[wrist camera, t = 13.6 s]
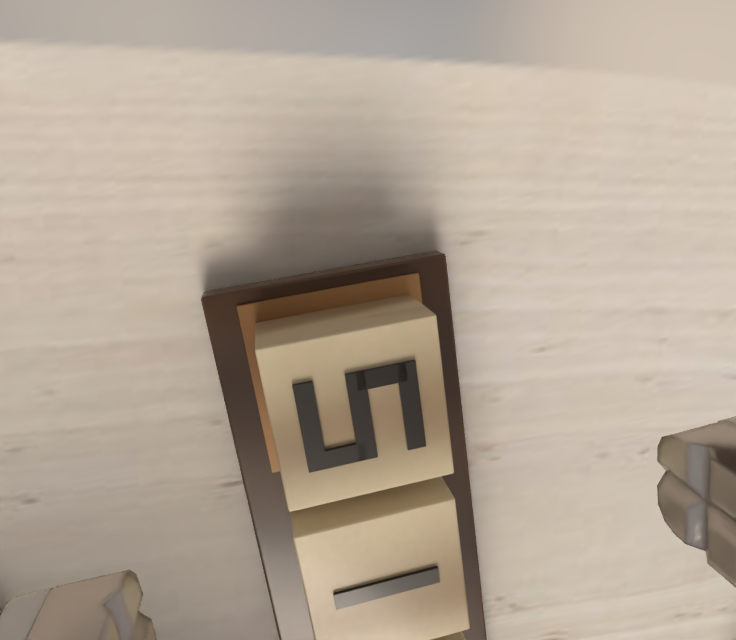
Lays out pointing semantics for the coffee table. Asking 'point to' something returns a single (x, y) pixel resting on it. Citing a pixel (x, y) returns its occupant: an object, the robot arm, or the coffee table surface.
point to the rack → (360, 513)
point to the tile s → (355, 399)
